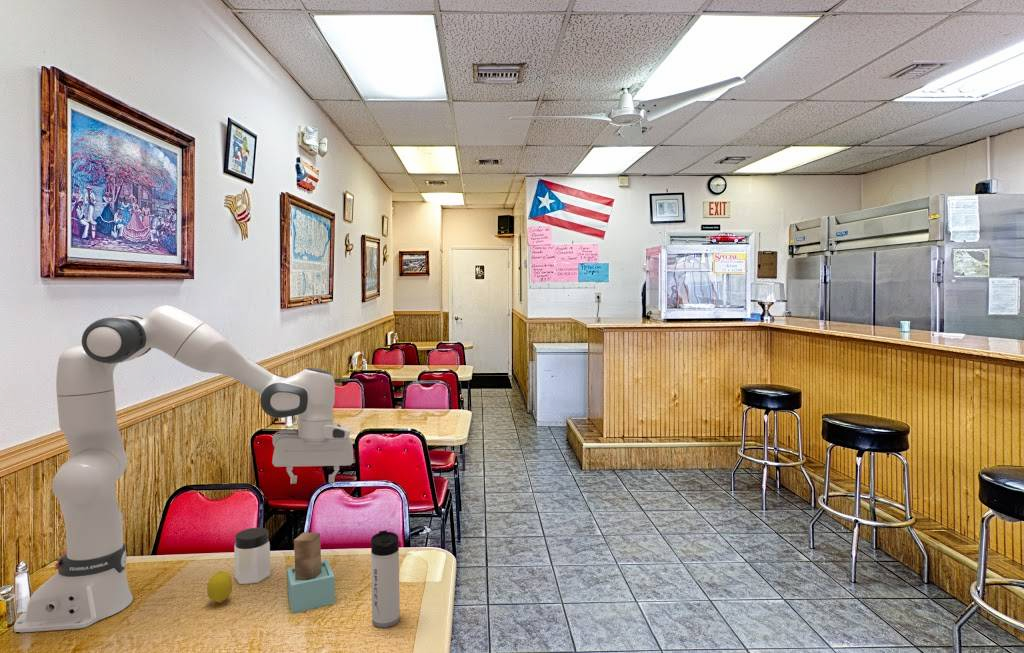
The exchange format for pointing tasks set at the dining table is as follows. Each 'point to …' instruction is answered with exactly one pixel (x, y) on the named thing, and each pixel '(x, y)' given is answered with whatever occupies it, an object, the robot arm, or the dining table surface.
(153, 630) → the dining table surface
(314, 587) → the teal box
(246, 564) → the jar
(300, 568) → the walnut block
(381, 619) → the travel mug
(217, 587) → the lemon
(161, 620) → the dining table surface
